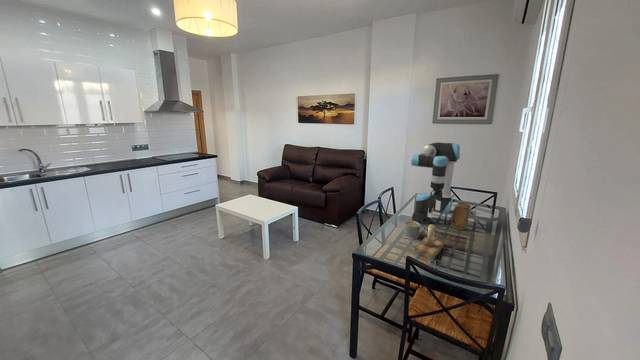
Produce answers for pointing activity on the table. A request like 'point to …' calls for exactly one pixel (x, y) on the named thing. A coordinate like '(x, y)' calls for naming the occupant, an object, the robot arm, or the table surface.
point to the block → (460, 216)
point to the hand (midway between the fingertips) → (433, 213)
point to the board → (429, 248)
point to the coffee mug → (412, 229)
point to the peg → (430, 235)
